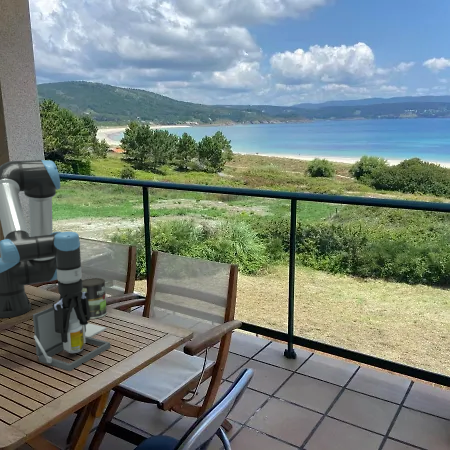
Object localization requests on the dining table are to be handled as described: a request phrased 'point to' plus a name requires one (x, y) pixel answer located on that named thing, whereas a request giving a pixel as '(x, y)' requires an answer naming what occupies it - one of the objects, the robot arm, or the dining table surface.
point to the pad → (93, 330)
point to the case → (58, 341)
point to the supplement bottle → (75, 336)
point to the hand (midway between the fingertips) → (74, 346)
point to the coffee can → (95, 296)
